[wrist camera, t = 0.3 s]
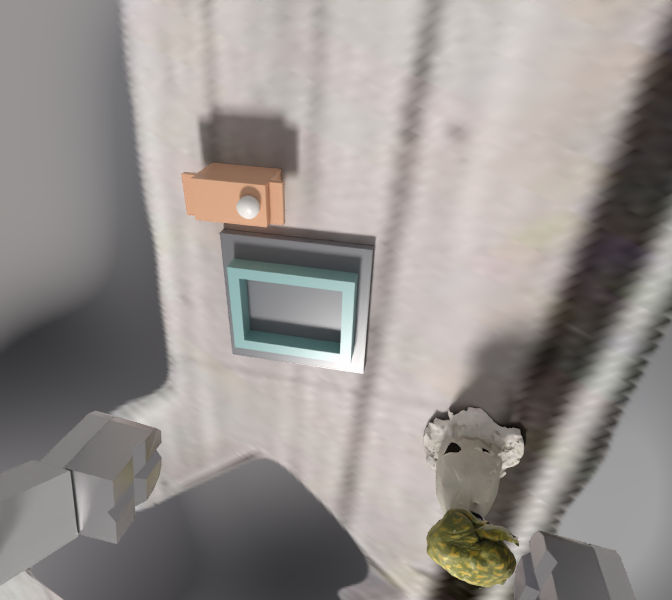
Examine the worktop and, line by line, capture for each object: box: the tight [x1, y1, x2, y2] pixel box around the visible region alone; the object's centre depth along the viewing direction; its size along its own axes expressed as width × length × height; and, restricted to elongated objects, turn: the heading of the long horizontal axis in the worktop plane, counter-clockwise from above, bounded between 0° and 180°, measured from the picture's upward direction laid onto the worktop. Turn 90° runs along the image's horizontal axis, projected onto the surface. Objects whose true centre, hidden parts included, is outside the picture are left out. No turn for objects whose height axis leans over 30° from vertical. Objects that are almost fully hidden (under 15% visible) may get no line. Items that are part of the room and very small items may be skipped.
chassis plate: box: [220, 229, 374, 374], centre depth 54 cm, size 16×16×3 cm
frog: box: [423, 407, 524, 589], centre depth 54 cm, size 11×12×17 cm
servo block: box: [181, 163, 285, 227], centre depth 46 cm, size 4×10×6 cm, turn 88°
